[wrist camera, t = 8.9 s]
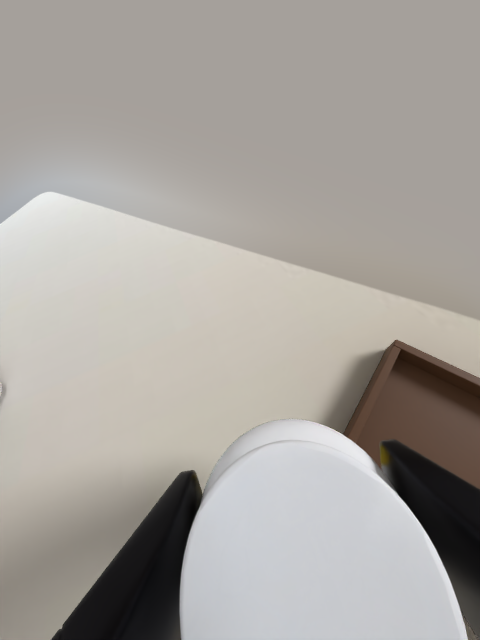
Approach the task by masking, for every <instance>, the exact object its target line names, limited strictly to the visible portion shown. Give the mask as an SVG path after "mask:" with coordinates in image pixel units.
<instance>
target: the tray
mask: <svg viewBox="0 0 480 640" xmlns="http://www.w3.org/2000/svg"><path fill="white" fill-rule="evenodd" d="M343 435H344V436H346V437H347V438H349V439H350V440H352V441H353V442H354V443H355V444H357V445H358V446H359V447H360V448H361V449H363V450H364V451H365V452H366V453H367V454H368V455H369V456H370V457H371V458H372V459H373V460H374V461H375V462H376V464H377V465H378V466H379V467H380V469H381V470H382V468H381V462H380V450H379V443H380V441H383V440H389V439H396V440H398V441H400V442H401V443H403V444H405V445H406V446H408V447H410V448H411V449H413V450H415V451H417V452H418V453H420V454H422V455H423V456H425V457H427V458H428V459H430V460H432V461H433V462H435V463H437V464H438V465H440V466H442V467H443V468H445V469H447V470H449V471H450V472H452V473H454V474H455V475H457V476H459V477H460V478H462V479H464V480H465V481H467V482H469V483H470V484H472V485H474V486H475V487H477V488H479V489H480V378H478V377H476V376H474V375H472V374H470V373H467V372H465V371H463V370H461V369H459V368H457V367H454V366H452V365H450V364H448V363H446V362H444V361H442V360H439V359H437V358H435V357H433V356H431V355H429V354H426V353H424V352H422V351H420V350H418V349H416V348H414V347H411V346H409V345H407V344H405V343H403V342H401V341H398V340H395V341H394V342H393V343H392V344H391V345H390V346H389V347H388V348H387V349H386V351H385V353H384V355H383V357H382V359H381V361H380V363H379V365H378V367H377V369H376V371H375V373H374V375H373V377H372V378H371V380H370V382H369V384H368V386H367V388H366V390H365V392H364V394H363V396H362V398H361V400H360V402H359V404H358V406H357V408H356V410H355V412H354V414H353V416H352V418H351V420H350V422H349V424H348V426H347V428H346V430H345V432H344V434H343Z"/></svg>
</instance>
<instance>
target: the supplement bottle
mask: <svg viewBox="0 0 480 640" xmlns="http://www.w3.org/2000/svg"><path fill="white" fill-rule="evenodd" d="M180 630H181V640H468V638H467V633H466V629H465V625H464V621H463V618H462V614H461V611H460V607H459V604H458V601H457V598H456V596H455V593H454V590H453V587H452V585H451V582H450V579H449V577H448V574H447V572H446V570H445V568H444V566H443V564H442V561H441V559H440V557H439V555H438V553H437V551H436V549H435V547H434V545H433V543H432V542H431V540H430V538H429V536H428V535H427V533H426V532H425V530H424V528H423V527H422V525H421V524H420V522H419V521H418V519H417V518H416V517H415V515H414V514H413V513H412V511H411V510H410V509H409V507H408V506H407V505H406V504H405V503H404V501H403V500H402V499H401V498H400V497H399V495H398V493H397V492H396V490H395V488H394V487H393V485H392V484H391V482H390V481H389V479H388V478H387V476H386V475H385V474H384V472H383V471H382V470H381V469H380V467H379V466H378V465H377V464H376V462H375V461H374V460H373V459H372V458H371V457H370V456H369V455H368V454H367V453H366V452H365V451H364V450H363V449H361V448H360V447H359V446H358V445H357V444H355V443H354V442H353V441H352V440H350V439H349V438H347V437H346V436H344V435H343V434H341V433H339V432H337V431H335V430H334V429H331V428H329V427H327V426H325V425H322V424H319V423H316V422H312V421H308V420H301V419H281V420H275V421H271V422H267V423H264V424H262V425H259V426H257V427H255V428H253V429H251V430H249V431H248V432H246V433H245V434H243V435H242V436H240V437H239V438H238V439H236V440H235V441H234V442H233V443H232V444H231V445H230V446H229V447H228V448H227V450H226V451H225V452H224V453H223V455H222V456H221V457H220V459H219V460H218V462H217V463H216V465H215V467H214V468H213V470H212V472H211V474H210V476H209V479H208V481H207V483H206V486H205V489H204V493H203V496H202V499H201V503H200V508H199V510H198V512H197V514H196V517H195V519H194V521H193V524H192V527H191V530H190V533H189V537H188V541H187V545H186V549H185V553H184V558H183V565H182V571H181V582H180Z"/></svg>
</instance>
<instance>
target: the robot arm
mask: <svg viewBox="0 0 480 640" xmlns="http://www.w3.org/2000/svg"><path fill="white" fill-rule="evenodd" d="M379 450H380V462H381V468H382V471H383V472H384V474H385V475H386V476H387V478H388V479H389V481H390V482H391V484H392V485H393V487H394V488H395V490H396V492H397V493H398V495H399V497H400V498H401V499H402V500H403V501H404V503H405V504H406V505H407V506H408V507H409V509H410V510H411V511H412V513H413V514H414V515H415V517H416V518H417V519H418V521H419V522H420V524H421V525H422V527H423V528H424V530H425V532H426V533H427V535H428V536H429V538H430V540H431V542H432V543H433V545H434V547H435V549H436V551H437V553H438V555H439V557H440V559H441V561H442V564H443V566H444V568H445V570H446V572H447V574H448V577H449V579H450V582H451V585H452V587H453V590H454V593H455V596H456V598H457V601H458V604H459V607H460V610H461V612H462V613H463V615H464V617H465V618H466V620H467V622H468V623H469V625H470V627H471V628H472V630H473V631H474V633H475V635H476V636H477V638H478V640H480V489H479V488H477V487H475V486H474V485H472V484H470V483H469V482H467V481H465V480H464V479H462V478H460V477H459V476H457V475H455V474H454V473H452V472H450V471H449V470H447V469H445V468H443V467H442V466H440V465H438V464H437V463H435V462H433V461H432V460H430V459H428V458H427V457H425V456H423V455H422V454H420V453H418V452H417V451H415V450H413V449H411V448H410V447H408V446H406V445H405V444H403V443H401V442H400V441H398V440H396V439H389V440H383V441H380V443H379ZM201 499H202V490H201V487H200V484H199V481H198V478H197V475H196V472H195V471H194V470H190V471H184V472H181V473H180V474H179V475H178V476H177V477H176V479H175V480H174V481H173V483H172V484H171V485H170V486H169V488H168V489H167V490H166V492H165V493H164V494H163V496H162V497H161V498H160V499H159V501H158V502H157V503H156V505H155V506H154V507H153V508H152V510H151V511H150V512H149V514H148V515H147V516H146V518H145V519H144V520H143V521H142V523H141V524H140V525H139V527H138V528H137V529H136V531H135V532H134V533H133V534H132V536H131V537H130V538H129V540H128V541H127V542H126V543H125V545H124V546H123V547H122V549H121V550H120V551H119V553H118V554H117V555H116V556H115V558H114V559H113V560H112V562H111V563H110V564H109V566H108V567H107V568H106V569H105V571H104V572H103V573H102V575H101V576H100V577H99V578H98V580H97V581H96V582H95V584H94V585H93V586H92V588H91V589H90V590H89V591H88V593H87V594H86V595H85V597H84V598H83V599H82V600H81V602H80V603H79V604H78V606H77V607H76V608H75V610H74V611H73V612H72V613H71V615H70V616H69V617H68V619H67V620H66V621H65V623H64V624H63V627H62V629H59V630H58V631H57V633H56V634H55V635H54V637H53V638H52V639H51V640H181V630H180V582H181V571H182V565H183V558H184V553H185V549H186V545H187V541H188V537H189V533H190V530H191V527H192V524H193V521H194V519H195V517H196V514H197V512H198V510H199V508H200V503H201Z"/></svg>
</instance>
